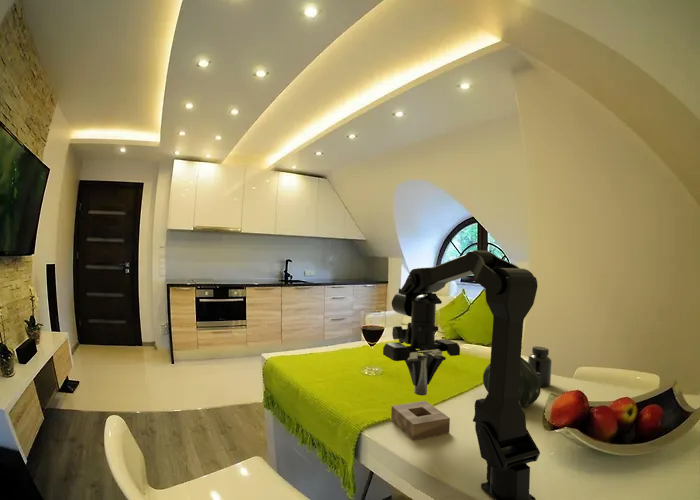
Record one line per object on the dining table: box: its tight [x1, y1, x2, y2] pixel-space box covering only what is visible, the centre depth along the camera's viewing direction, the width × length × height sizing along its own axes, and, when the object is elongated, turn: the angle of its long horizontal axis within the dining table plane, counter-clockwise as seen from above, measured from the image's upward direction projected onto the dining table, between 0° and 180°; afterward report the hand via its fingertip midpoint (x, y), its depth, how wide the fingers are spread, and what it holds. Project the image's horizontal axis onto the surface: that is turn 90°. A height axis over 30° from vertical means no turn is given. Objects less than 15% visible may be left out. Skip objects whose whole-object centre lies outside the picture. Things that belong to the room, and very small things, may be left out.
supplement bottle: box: [527, 345, 552, 388], centre depth 118 cm, size 7×7×12 cm
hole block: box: [390, 400, 451, 441], centre depth 86 cm, size 10×10×4 cm
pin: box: [414, 353, 428, 396], centre depth 86 cm, size 3×3×9 cm
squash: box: [482, 356, 542, 409], centre depth 102 cm, size 14×15×15 cm
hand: (420, 384), depth 86 cm, fingers closed on pin, 3 cm apart
